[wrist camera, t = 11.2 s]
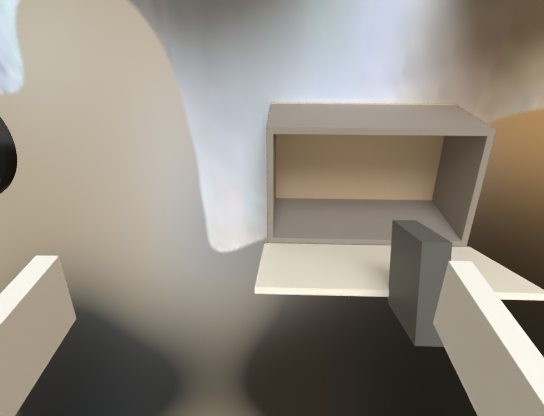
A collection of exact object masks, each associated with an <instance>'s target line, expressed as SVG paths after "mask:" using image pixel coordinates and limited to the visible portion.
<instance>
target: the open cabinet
mask: <svg viewBox="0 0 544 416" xmlns="http://www.w3.org/2000/svg"><path fill="white" fill-rule="evenodd" d="M495 132H496V129H495V128H493V127H492V126H490V125H488V124H487V123H485V122H483V121H482V120H480V119H478V118H477V117H475V116H473V115H472V114H470V113H468V112H467V111H465V110H464V109H462V108H460V107H459V106H457V105H455V104H399V103H271V105H270V111H269V116H268V122H267V242H268V243H307V244H361V245H363V244H364V245H391V238H392V221H393V220H416V221H418V222H420V223H421V224H423V225H424V226H426V227H428V228H429V229H431V230H432V231H434V232H436V233H437V234H439V235H441V236H442V237H444V238H445V239H447V240H449V241H450V242H452V246H467V242H468V238H469V234H470V230H471V226H472V222H473V218H474V214H475V211H476V206H477V203H478V199H479V195H480V190H481V187H482V183H483V179H484V175H485V171H486V167H487V163H488V159H489V155H490V152H491V148H492V144H493V140H494V136H495Z"/></svg>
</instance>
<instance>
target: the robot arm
mask: <svg viewBox="0 0 544 416" xmlns="http://www.w3.org/2000/svg"><path fill="white" fill-rule="evenodd" d="M16 168H17V154H16V149H15V144H14V141H13V139H12V136H11V134H10V132H9V130H8V128H7V126H6V125H5V123H4V121H3V120H2V119H1V118H0V193H2V192H3V191H4V190H5V189H6V188H7V187H8V186H9V185H10V184H11V182H12V180H13V178H14V176H15V173H16ZM75 319H76V316H75V313H74V309H73V305H72V302H71V298H70V295H69V291H68V287H67V284H66V280H65V277H64V273H63V269H62V266H61V262H60V259H59V256H35V257H34V258H33V260H32V261H31V262H30V263H29V264H28V265H27V266H26V267H25V268H24V269H23V270H22V271H21V272H20V273H19V274H18V275H17V277H16V278H15V279H14V280H13V281H12V282H11V283H10V284H9V285H8V286H7V287H6V288H5V289H4V290H3V291H2V293H0V416H15V415H16V413H17V412H18V410H19V408H20V407H21V405H22V404H23V402H24V400H25V399H26V397H27V396H28V394H29V392H30V391H31V389H32V388H33V386H34V385H35V383H36V381H37V380H38V378H39V377H40V375H41V373H42V372H43V370H44V368H45V367H46V366H47V364H48V362H49V360H50V359H51V358H52V356H53V354H54V353H55V351H56V350H57V348H58V346H59V345H60V343H61V342H62V340H63V339H64V337H65V335H66V334H67V332H68V331H69V329H70V327H71V326H72V324H73V323H74V321H75ZM433 325H434V327H435V329H436V331H437V333H438V335H439V337H440V339H441V341H442V343H443V345H444V347H445V349H446V351H447V353H448V355H449V357H450V359H451V361H452V364H453V365H454V367H455V370H456V372H457V374H458V376H459V378H460V380H461V382H462V384H463V386H464V388H465V390H466V392H467V394H468V397H469V399H470V401H471V403H472V405H473V407H474V409H475V411H476V413H477V415H478V416H544V356H542V355H541V353H540V352H539V351H538V349H537V348H536V347H535V345H534V344H533V343H532V342H531V340H530V339H529V337H528V336H527V335H526V333H525V332H524V331H523V329H522V328H521V327H520V325H519V324H518V323H517V321H516V320H515V319H514V317H513V316H512V315H511V313H510V312H509V311H508V309H507V308H506V307H505V305H504V304H503V303H502V301H501V300H500V299H499V297H498V296H497V295H496V293H495V292H494V291H493V289H492V288H491V287H490V285H489V284H488V283H487V281H486V280H485V279H484V277H483V276H482V275H481V273H480V272H479V271H478V269H477V268H476V267H475V265H474V264H473V263H472V261H448V265H447V269H446V273H445V277H444V281H443V285H442V289H441V293H440V297H439V301H438V305H437V309H436V313H435V317H434V321H433Z"/></svg>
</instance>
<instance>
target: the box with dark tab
mask: <svg viewBox="0 0 544 416" xmlns="http://www.w3.org/2000/svg"><path fill="white" fill-rule="evenodd" d="M448 261H472V263H473V264H474V265H475V267H476V268H477V269H478V271H479V272H480V273H481V275H482V276H483V277H484V279H485V280H486V281H487V283H488V284H489V285H490V287H491V288H492V289H493V291H494V292H495V293H496V295H497V296H498V297H499V299H507V300H508V299H509V300H544V290H543V289H541V288H539V287H538V286H536V285H534V284H533V283H531V282H529V281H527V280H525V279H524V278H522V277H520V276H519V275H517V274H515V273H514V272H512V271H510V270H508V269H507V268H505V267H503V266H502V265H500V264H498V263H496V262H495V261H493V260H491V259H489V258H488V257H486V256H484V255H482V254H481V253H479V252H477V251H476V250H474V249H472V248H471V247H452V242H450V241H449V240H447V239H445V238H444V237H442V236H441V235H439V234H437V233H436V232H434V231H432V230H431V229H429V228H428V227H426V226H424V225H423V224H421V223H420V222H418V221H416V220H393V221H392V238H391V246H387V245H333V244H280V243H265V244H264V247H263V252H262V257H261V261H260V266H259V270H258V275H257V280H256V284H255V294H290V295H334V296H336V295H337V296H377V297H388V304H389V305H390V307H391V309H392V310H393V312H394V313H395V315H396V316H397V318H398V320H399V321H400V323H401V325H402V326H403V328H404V329H405V331H406V333H407V334H408V336H409V337H410V339H411V341H412V342H413V344H414V346H440V347H443V346H444V345H443V343H442V341H441V339H440V337H439V335H438V333H437V331H436V329H435V327H434V325H433V321H434V317H435V313H436V309H437V305H438V301H439V297H440V293H441V289H442V285H443V281H444V277H445V273H446V269H447V265H448Z"/></svg>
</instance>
